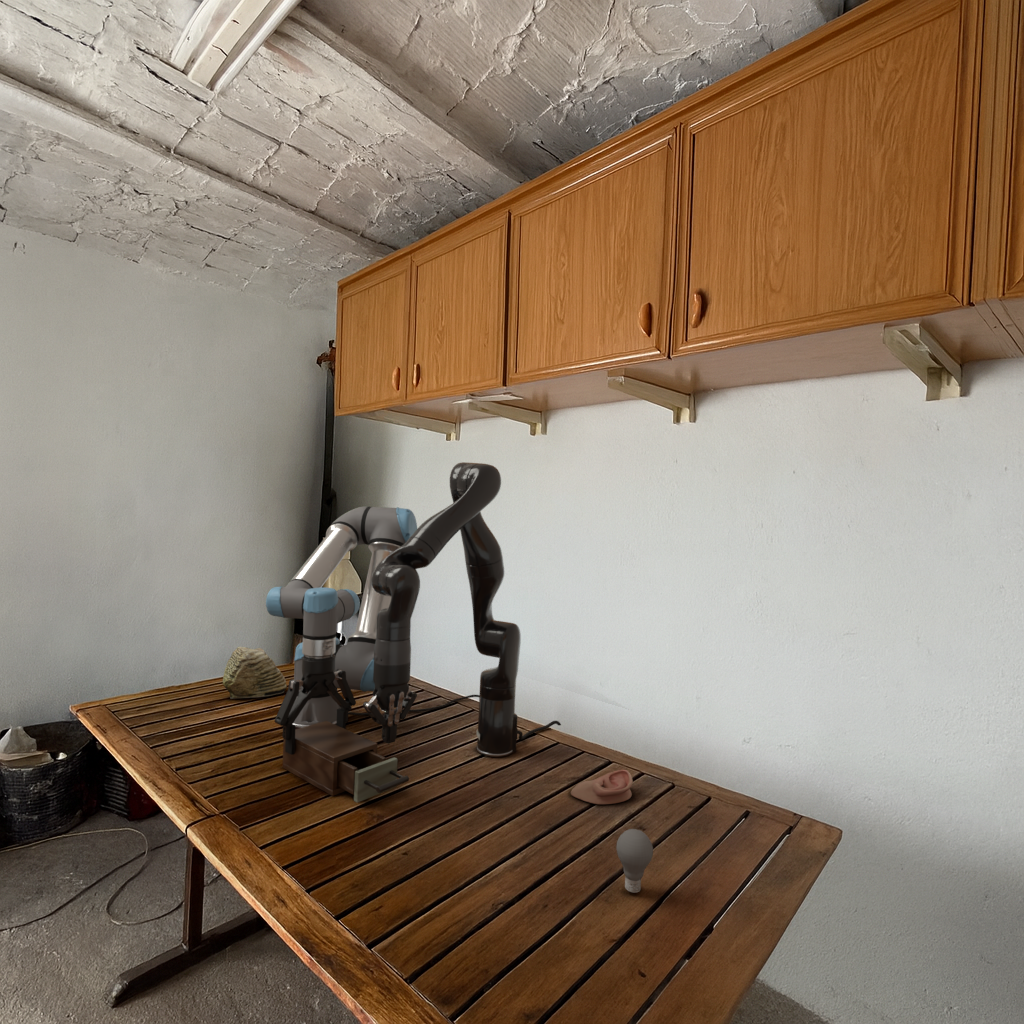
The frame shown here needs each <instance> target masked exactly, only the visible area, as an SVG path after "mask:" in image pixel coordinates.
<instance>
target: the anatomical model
mask: <svg viewBox="0 0 1024 1024" xmlns="http://www.w3.org/2000/svg"><path fill="white" fill-rule="evenodd" d="M633 781H634V780H633V777H632V775H631V773H630V771H629V770H627V769H618V770H615V771H611V772H608V773H606V774H603V775H601V776H599V777H597V778H595V779H592V780H583V781H581V782H579V783H577V784H576V785H575V786H574V787H573V788H572V789H571V791H570V795H571V796H572V797H574V798H576V799H579V800H581V801H584V802H587V803H590V804H594V805H612V804H618V803H623V802H626V801H628V800H629V799H631V797H632V795H633V793H632V791H631V788H632V787H633V783H634V782H633Z"/></svg>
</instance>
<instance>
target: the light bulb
mask: <svg viewBox="0 0 1024 1024" xmlns="http://www.w3.org/2000/svg"><path fill="white" fill-rule="evenodd" d="M615 849H616V854H617V857H618V859H619V861H620V863H621V865H622V867H623V873H624V874H623V875H624V876H625V878H624V888H625V890H627V891H628V892H630V893H634V894H635V893H639V892H640V891H641V889H642V887H641V886H642V879H643V877H644V875H645V871H646V868H647V867H648V866H649V864H650V863H651V861H652V859H653V855H654V847H653V843H652V841H651V838H649V836H648V835H647V834H646V833H645V832H643V831H642V830H641V829H636V828H629V829H627V830H625V831H623V832H622V833H621V834H620V835H619V837H618V839H617V841H616V847H615Z"/></svg>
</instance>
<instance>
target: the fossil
mask: <svg viewBox="0 0 1024 1024" xmlns="http://www.w3.org/2000/svg"><path fill="white" fill-rule="evenodd" d="M222 676H223V677H222V685H223V687H224V688H225V690H226V691H228V693H229V698H230V699H250V698H264V697H271V696H275V695H281V694H284V693H285V691H287V690H286V689H287V687H288V686H287V680H286V678H285V676H284V674H283V673H282V672H281V669H279V668H278V667H277V665H276V663H275V662H274V660H273V659H272V658H271V657H270V656H269V655H268V654H267V653H266V652H265V650H264V649H263V648H260V647H258V648H251V647H247V646H246V647H245V646H238V647H237V648H236V649H235V650H233V651H232V653H231V656H230V657H229V659H228V660H227V663H226V666H225V668H224V671H223V675H222Z"/></svg>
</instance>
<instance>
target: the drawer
mask: <svg viewBox="0 0 1024 1024" xmlns="http://www.w3.org/2000/svg"><path fill="white" fill-rule="evenodd" d="M409 781H410V777H409V775H403V774H401V773H399V772H398V758H397V757H391V758H388V759H387V757H385V756H383V755H381V754H378V753H377V754H376V753H374V752H372V751H370V750H369V751H366V752H364V753H361V754H358V755H355V756H352V757H349V758H346V759H343V760H340V761H338V770H337V786H338V787H340V788H342V789H344V790H346V791H345V792H348V793H349V794H351V795H353V801H354V802H355V803H360V802H363V801H365V800H367V799H370V798H372V797H375V796H377V795H380V794H382V793H385V792H387V791H390V790H392V789H395V788H397V787H398V786H400V785H402V784H405V783H407V782H409Z"/></svg>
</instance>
